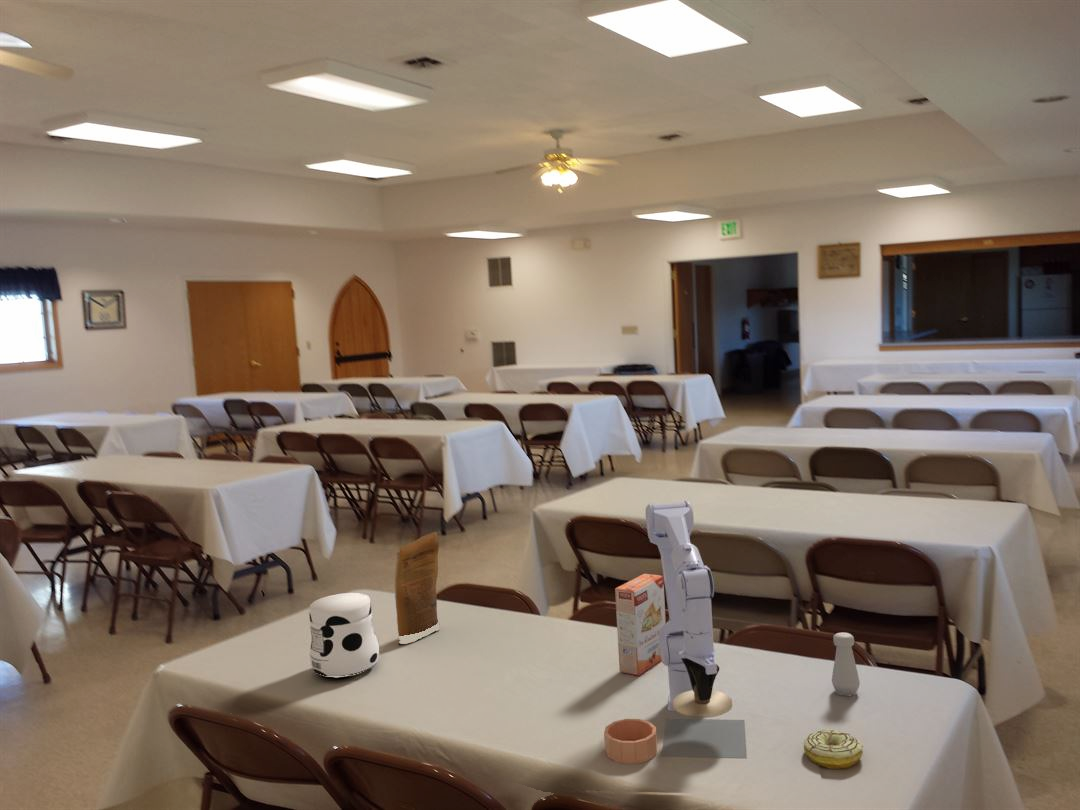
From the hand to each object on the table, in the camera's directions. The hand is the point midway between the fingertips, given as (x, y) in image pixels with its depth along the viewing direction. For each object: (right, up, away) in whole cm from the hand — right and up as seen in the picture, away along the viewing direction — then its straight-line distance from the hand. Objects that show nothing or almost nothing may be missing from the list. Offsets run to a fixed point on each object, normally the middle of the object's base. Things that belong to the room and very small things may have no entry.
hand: (701, 695), depth 179 cm
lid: (0, -2, 0) cm, 2 cm away
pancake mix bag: (-65, -7, +73) cm, 98 cm away
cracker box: (-7, -6, +41) cm, 42 cm away
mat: (+1, -9, +1) cm, 9 cm away
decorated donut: (+23, -9, -10) cm, 26 cm away
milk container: (-82, -11, +52) cm, 98 cm away
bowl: (-14, -10, -2) cm, 18 cm away
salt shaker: (+34, -5, +17) cm, 39 cm away
